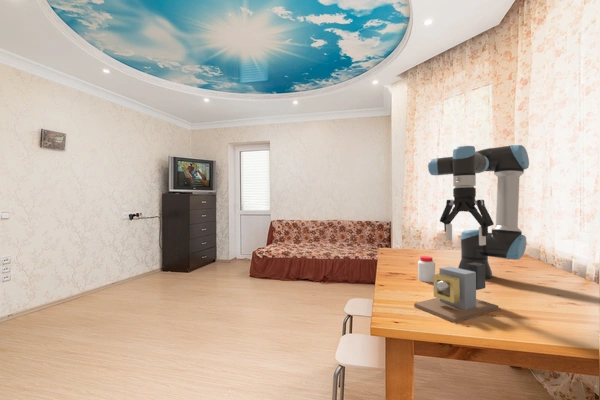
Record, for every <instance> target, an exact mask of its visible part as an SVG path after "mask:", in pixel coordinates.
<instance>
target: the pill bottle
mask: <svg viewBox="0 0 600 400" xmlns="http://www.w3.org/2000/svg"><path fill="white" fill-rule="evenodd" d="M434 274H436V262H435V261H434V260H433V257H432V256H429V255H428V256H427V255H422V256H420V257H419V260H418V261H417V280H418V281H420V282H424V283H434Z"/></svg>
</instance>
